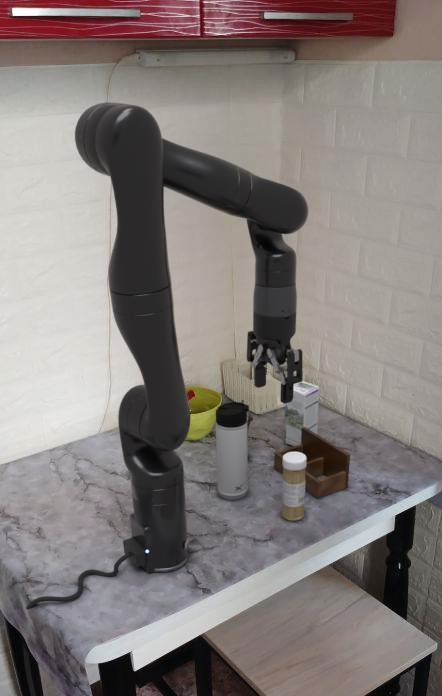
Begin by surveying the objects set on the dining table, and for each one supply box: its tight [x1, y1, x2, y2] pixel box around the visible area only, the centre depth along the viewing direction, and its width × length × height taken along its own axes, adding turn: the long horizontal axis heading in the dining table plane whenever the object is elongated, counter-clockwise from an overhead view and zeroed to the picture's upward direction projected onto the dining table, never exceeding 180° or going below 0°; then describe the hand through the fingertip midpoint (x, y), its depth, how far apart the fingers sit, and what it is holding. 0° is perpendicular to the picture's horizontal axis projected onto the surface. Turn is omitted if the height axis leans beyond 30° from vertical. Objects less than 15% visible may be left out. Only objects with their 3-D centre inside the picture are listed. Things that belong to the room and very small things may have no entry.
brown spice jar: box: [281, 452, 307, 522], centre depth 147 cm, size 5×5×13 cm
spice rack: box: [273, 427, 351, 500], centre depth 161 cm, size 8×15×8 cm, turn 32°
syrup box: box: [284, 380, 320, 447], centre depth 174 cm, size 6×6×14 cm
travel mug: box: [215, 401, 250, 501], centre depth 154 cm, size 6×7×20 cm
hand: (273, 394), depth 140 cm, fingers open, 8 cm apart
